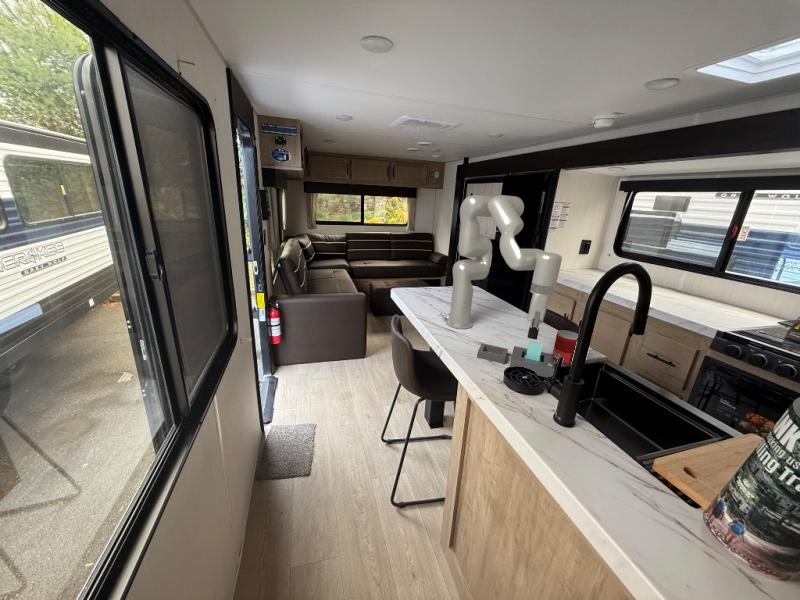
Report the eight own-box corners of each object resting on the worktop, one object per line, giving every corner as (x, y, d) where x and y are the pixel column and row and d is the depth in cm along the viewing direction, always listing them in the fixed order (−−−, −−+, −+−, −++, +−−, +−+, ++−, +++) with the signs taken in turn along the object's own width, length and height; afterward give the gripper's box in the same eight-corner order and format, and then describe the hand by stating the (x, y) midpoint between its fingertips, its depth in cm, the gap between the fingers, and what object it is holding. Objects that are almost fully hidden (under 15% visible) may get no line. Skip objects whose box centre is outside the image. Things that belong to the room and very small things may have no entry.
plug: (522, 367, 111) (527, 344, 109) (523, 362, 115) (527, 340, 112) (538, 370, 109) (543, 347, 107) (539, 365, 113) (543, 343, 110)
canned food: (574, 367, 113) (580, 339, 110) (550, 361, 117) (556, 334, 114) (575, 359, 119) (581, 333, 116) (552, 353, 123) (558, 328, 120)
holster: (476, 357, 116) (477, 351, 116) (481, 348, 124) (482, 343, 123) (504, 364, 112) (505, 357, 112) (507, 354, 120) (507, 348, 119)
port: (509, 368, 109) (511, 356, 108) (512, 355, 120) (514, 344, 119) (552, 379, 104) (555, 366, 103) (551, 364, 114) (554, 353, 113)
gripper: (531, 282, 113) (522, 328, 119) (529, 292, 100) (519, 343, 106) (554, 286, 110) (543, 333, 116) (555, 296, 97) (543, 348, 103)
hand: (532, 337), depth 111 cm, fingers closed
